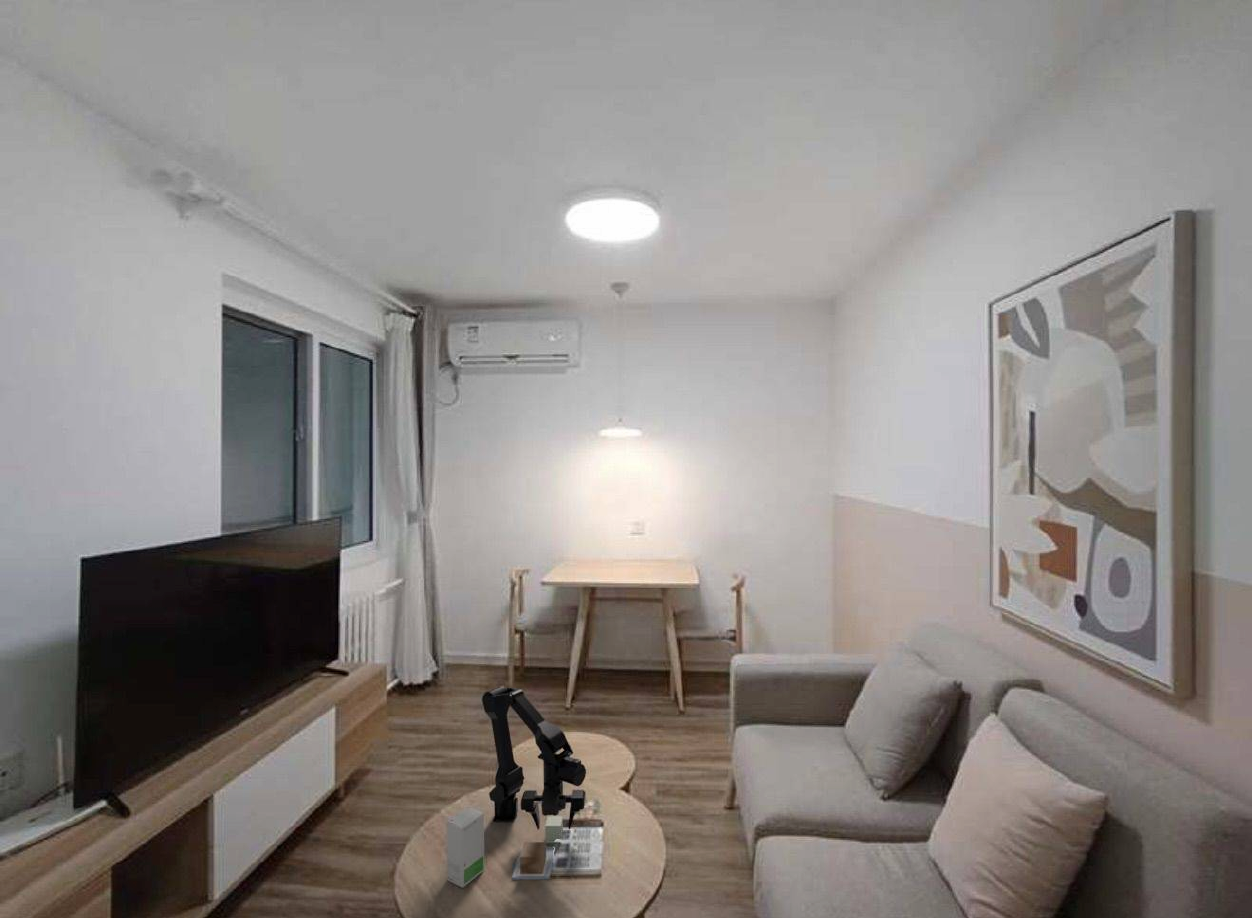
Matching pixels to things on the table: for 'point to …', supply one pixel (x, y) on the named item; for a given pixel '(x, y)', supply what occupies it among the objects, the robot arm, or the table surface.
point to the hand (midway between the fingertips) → (554, 828)
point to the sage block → (553, 828)
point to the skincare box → (465, 846)
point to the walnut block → (533, 858)
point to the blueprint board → (535, 876)
